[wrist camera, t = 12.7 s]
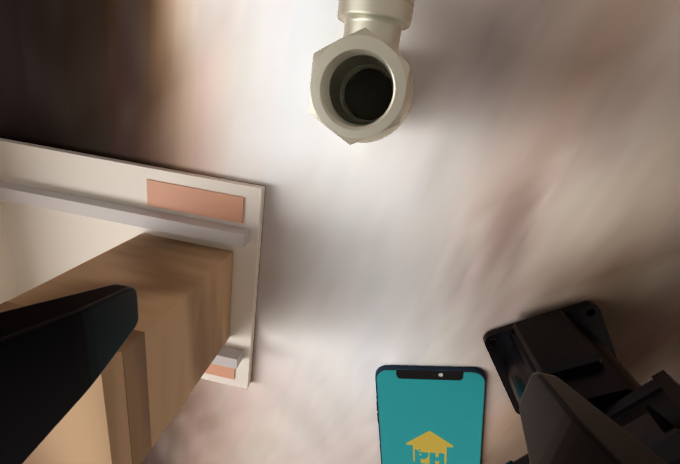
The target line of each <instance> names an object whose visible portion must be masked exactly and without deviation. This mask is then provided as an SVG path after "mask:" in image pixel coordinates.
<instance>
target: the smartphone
mask: <svg viewBox="0 0 680 464" xmlns="http://www.w3.org/2000/svg"><path fill="white" fill-rule="evenodd" d="M427 375H428V376H427ZM485 389H486V379H485V376H484V373H483V372H482V371H481V370H480V369H478V368H475V367H443V366H399V365H384V366H381V367H379V368H378V369H377V371H376V393H377V396H376V398H377V411H378V413H377V416H378V423H379V437H380V451H381V464H481V454H482V438H483V422H484V405H485Z"/></svg>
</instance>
